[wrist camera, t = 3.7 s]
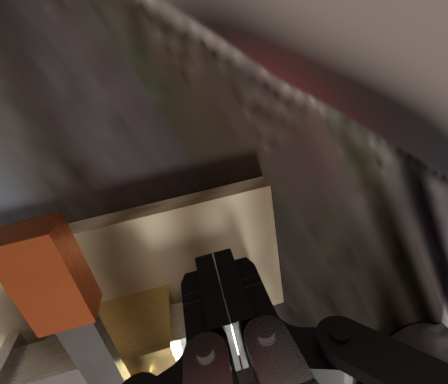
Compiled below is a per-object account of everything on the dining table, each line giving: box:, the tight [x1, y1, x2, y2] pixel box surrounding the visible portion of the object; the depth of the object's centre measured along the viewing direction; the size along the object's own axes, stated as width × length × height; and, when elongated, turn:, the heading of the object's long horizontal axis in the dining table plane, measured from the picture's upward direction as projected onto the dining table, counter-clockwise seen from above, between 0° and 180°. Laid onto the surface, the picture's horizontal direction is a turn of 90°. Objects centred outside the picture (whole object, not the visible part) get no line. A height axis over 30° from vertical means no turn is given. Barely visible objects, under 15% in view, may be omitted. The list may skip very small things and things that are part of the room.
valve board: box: [0, 176, 284, 348], centre depth 27 cm, size 26×13×2 cm, turn 100°
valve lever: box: [0, 212, 131, 384], centre depth 16 cm, size 17×3×2 cm, turn 10°
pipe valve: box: [0, 281, 239, 384], centre depth 24 cm, size 21×6×8 cm, turn 100°
